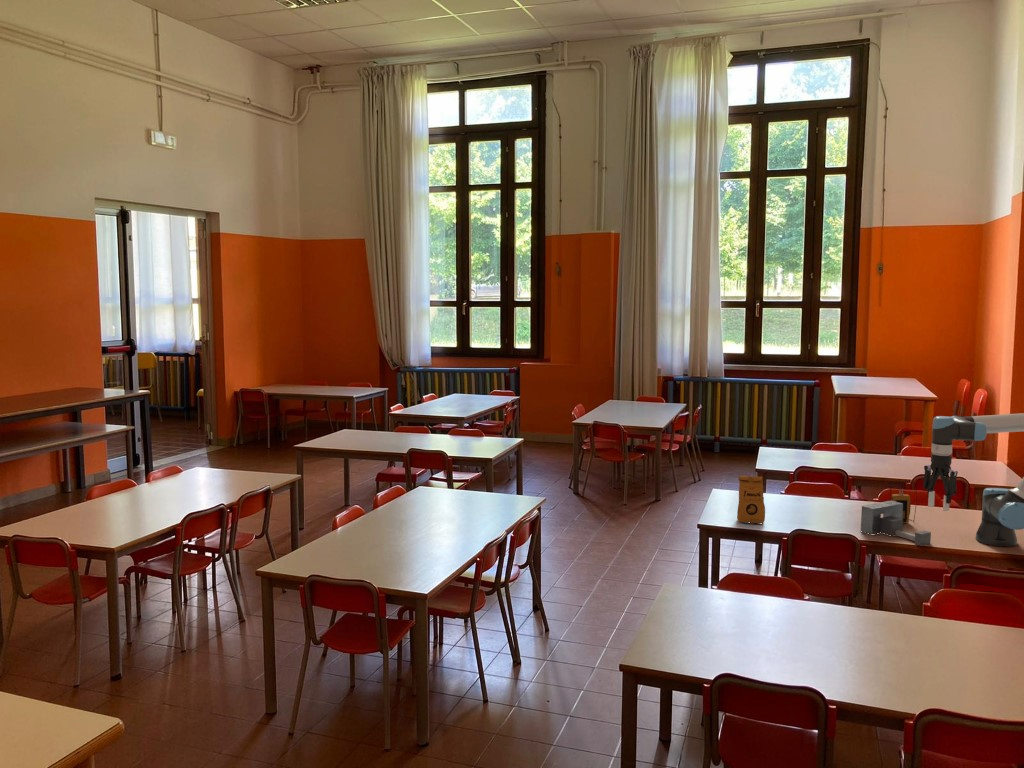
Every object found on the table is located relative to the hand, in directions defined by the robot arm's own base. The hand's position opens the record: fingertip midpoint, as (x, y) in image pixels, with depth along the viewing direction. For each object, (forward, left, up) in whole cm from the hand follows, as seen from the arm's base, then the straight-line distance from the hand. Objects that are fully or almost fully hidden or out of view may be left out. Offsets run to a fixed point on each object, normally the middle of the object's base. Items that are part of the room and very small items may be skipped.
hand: (938, 508), depth 332 cm
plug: (+15, 0, -17) cm, 23 cm away
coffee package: (+64, +42, -17) cm, 78 cm away
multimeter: (+35, -20, -17) cm, 44 cm away
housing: (+27, 0, -17) cm, 32 cm away
